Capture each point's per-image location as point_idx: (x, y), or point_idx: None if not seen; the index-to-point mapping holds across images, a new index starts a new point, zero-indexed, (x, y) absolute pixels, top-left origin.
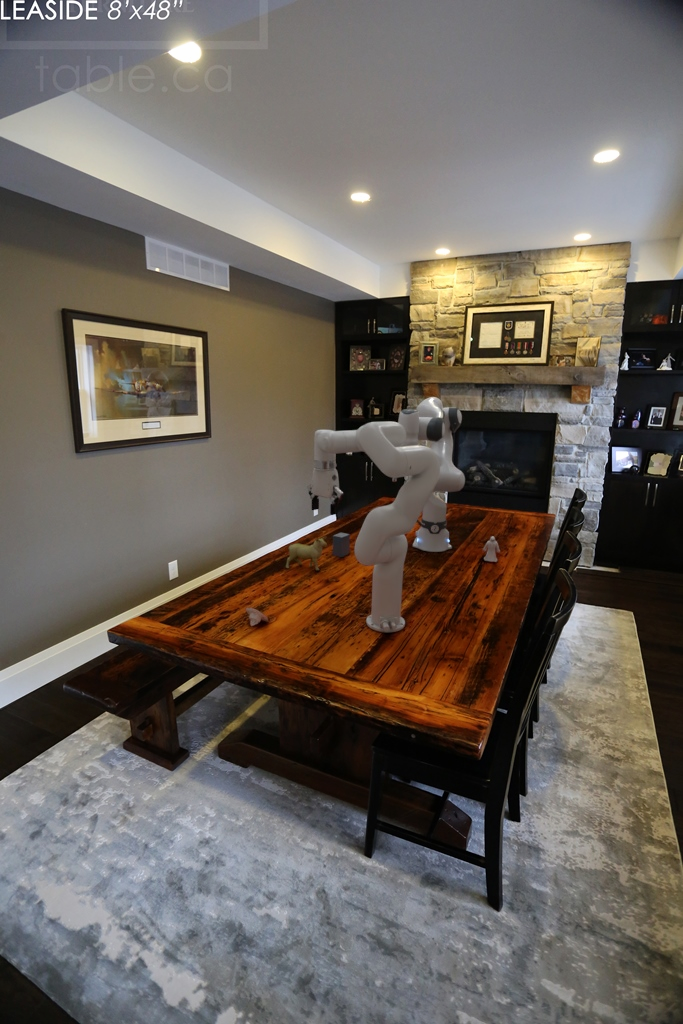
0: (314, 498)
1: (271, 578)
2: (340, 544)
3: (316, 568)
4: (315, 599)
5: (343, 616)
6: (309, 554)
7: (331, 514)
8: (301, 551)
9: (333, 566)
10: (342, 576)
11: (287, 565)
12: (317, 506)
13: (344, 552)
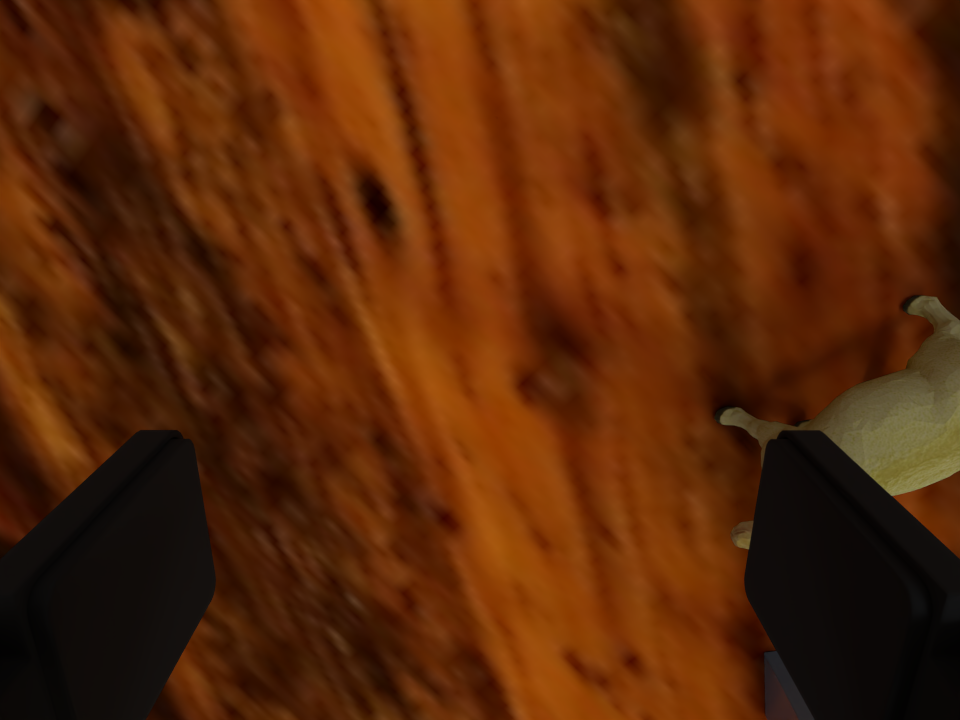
0: (945, 697)
1: (894, 102)
2: (808, 717)
3: (738, 413)
4: (410, 78)
5: (101, 23)
6: (823, 425)
7: (141, 431)
8: (890, 396)
9: (704, 528)
10: (554, 456)
11: (929, 307)
12: (773, 593)
13: (773, 693)
